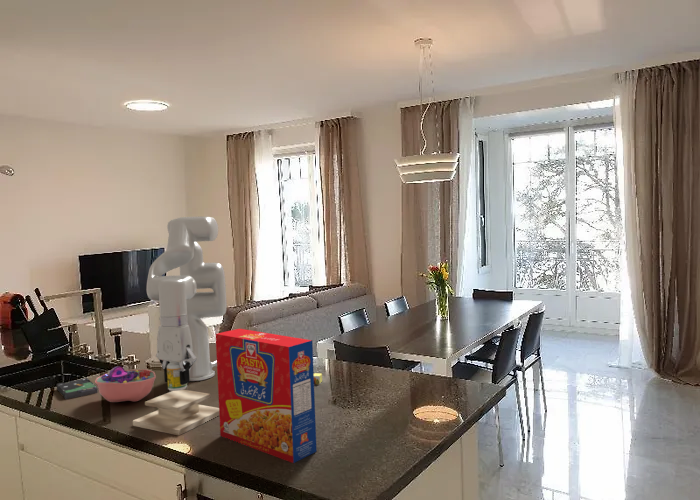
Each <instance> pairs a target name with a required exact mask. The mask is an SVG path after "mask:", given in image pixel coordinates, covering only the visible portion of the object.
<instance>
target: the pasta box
mask: <svg viewBox="0 0 700 500" xmlns="http://www.w3.org/2000/svg"><path fill="white" fill-rule="evenodd" d="M215 349H216V350H215V351H216V361H217V366H216V374H217V375H216V376H217V390H218V391H217V392H218V395H217V396H218V408H219V416H218V417H219V431H220V432H219V433H220V434H219V435H220V437H221V436H222V438H224V437H225V438H224V439H226V438H228V439H227V440H229V439H230V441H232V440H233V442H235V441H236V442H235V443H237V442H238V444H240V443H241V444H240V445H243V444H244V445H243V446H245V445H246V447H248V446H249V448H251V449H254V450H257V451H259V452H262V453H265V454H268V455H271V456H273V457H276V458H279V459H281V460H283V461H287V462H289V463H292V464H295V463H296V462H299V461H301V460H303V459H304V458H306V457H309V456H311V455H312V454H314V453H316V452H317V449H318V448H317V431H316V429H317V426H316V406H315V405H316V403H315V402H316V401H315V399H316V398H315V384H314V350H313V349H314V348H313V339H312V340H311V339H306V338H300V337H293V336H289V335H288V336H286V335H282V334H275V333H270V332H269V333H268V332H263V331H256V330H251V329H245V328H235V329H231V330H227V331H223V332H219V333H215Z"/></svg>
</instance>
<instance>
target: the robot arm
mask: <svg viewBox="0 0 700 500" xmlns="http://www.w3.org/2000/svg"><path fill="white" fill-rule="evenodd" d="M166 227H167V233H168V237H167V246H166V250H165V251H164V252H162V254H160V255H159V256H158V257H157V258H156V259H154V261H153V262H152V264H151V265H150V267H149V269H148V273H147V274H148V275H147V280H146V294H147V298H148V299H149V300H150V301H153V302H158V303H159V304H158V305H159V322H160V324H159V326H158V329H157V337H156V355H155V357H156V358H157V359H158V360H159V363H160V364H161V368H162V369H163V372H164V373H163V376H164V383H167V384H168V380H167V365H168V364H169V363H170V362H169V361H172V362H179V364H180V368H181V371H180V384H181V385H184V384H186V383H187V384H189V383H190V382H195V381H196V382H197V381H204V380H207V379H211V378H213V377H214V376H216V375H215V374H216V373H215V370H213V368H214V367H217V360H214V361H211V357H210V340H209V328H208V326H207V324H206V323H205V322H204V321H203V320H202V319H203V318H218V317H223V316H225V314H226V312H227V306H228V305H227V304H228V303H227V289H226V286H227V285H226V276H225V269H224V267H223V265H222V264H221V263H220V262H204V251H203V248H202V247H201V245H200V242H213V241H215V240H216V239H217V238H218V234H219V224H218V222H217V220H216V219H215V217H211V216H183V217H182V216H181V217H177V218H173V219H170V220H169V221H168V222H167V226H166ZM177 268H179V275H164V274H167V273H168V272H170V271H172V270H174V269H175V270H176V269H177ZM200 289H201V290H204V289H211V290H212V291H199V292H198V291H197V290H200ZM183 362H184V363H185V365H184V363H183Z"/></svg>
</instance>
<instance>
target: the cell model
mask: <svg viewBox="0 0 700 500" xmlns="http://www.w3.org/2000/svg"><path fill="white" fill-rule="evenodd" d="M156 378H157V376H156V373H155V371H153V370H150V369H146V368H144V369H143V368H142V369H141V368H140V369H125V368H124V367H123V366H119V365H118V366H114V367H113V368H112V369H110V370H109V371H108V372H106V373H104V374H102V375H100V376H98V377H96V379H95V380H94V382H95V383H94V384H95V385H96V386H97V389H98V392H99V395H101V396H102V397H103V398H104V399H105V400H106V401H107V402H110V403H121V402H133V403H134V402H138V401H141V400H143V399H144V398H146V397H147V396H148V395H149V394H150V393H151V392H152V390H153V386H154V382H155V381H156Z"/></svg>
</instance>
